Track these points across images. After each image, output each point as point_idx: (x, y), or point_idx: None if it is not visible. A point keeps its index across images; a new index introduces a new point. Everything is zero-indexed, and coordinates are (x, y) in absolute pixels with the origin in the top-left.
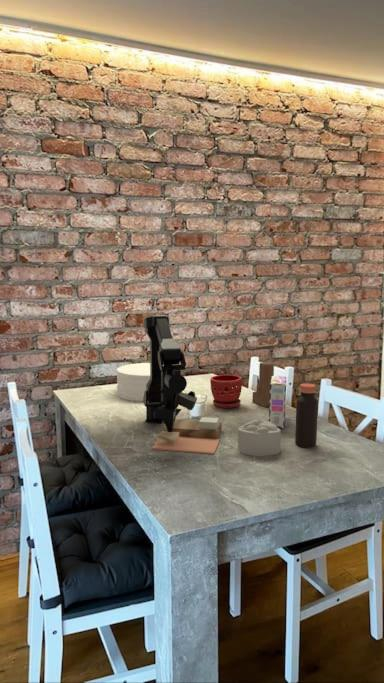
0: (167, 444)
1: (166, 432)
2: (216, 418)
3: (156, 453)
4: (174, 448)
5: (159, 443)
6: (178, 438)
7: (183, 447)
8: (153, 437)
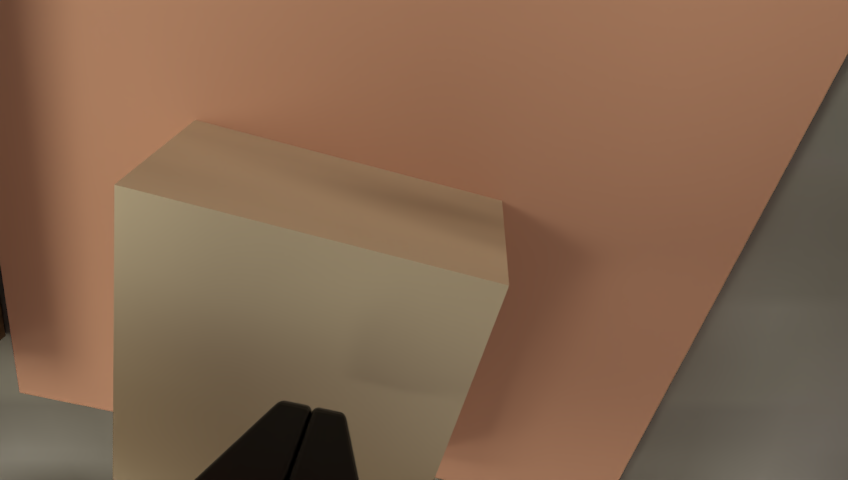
0: None
1: (179, 437)
2: None
3: (782, 446)
4: (706, 214)
5: None
6: (241, 154)
7: (677, 26)
8: None
